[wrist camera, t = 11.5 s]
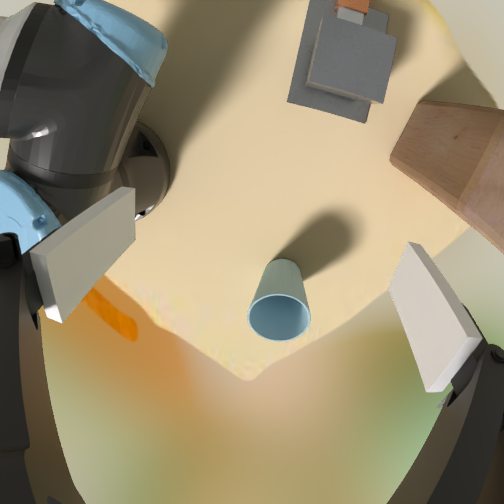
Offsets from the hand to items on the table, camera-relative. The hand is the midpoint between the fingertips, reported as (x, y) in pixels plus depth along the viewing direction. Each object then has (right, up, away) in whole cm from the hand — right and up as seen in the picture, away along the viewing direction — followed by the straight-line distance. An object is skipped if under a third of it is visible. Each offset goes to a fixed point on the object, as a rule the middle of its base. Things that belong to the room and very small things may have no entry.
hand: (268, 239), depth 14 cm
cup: (+4, -4, +32) cm, 32 cm away
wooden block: (+23, +13, +20) cm, 33 cm away
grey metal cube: (+9, +20, +14) cm, 26 cm away
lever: (+10, +25, +16) cm, 31 cm away
